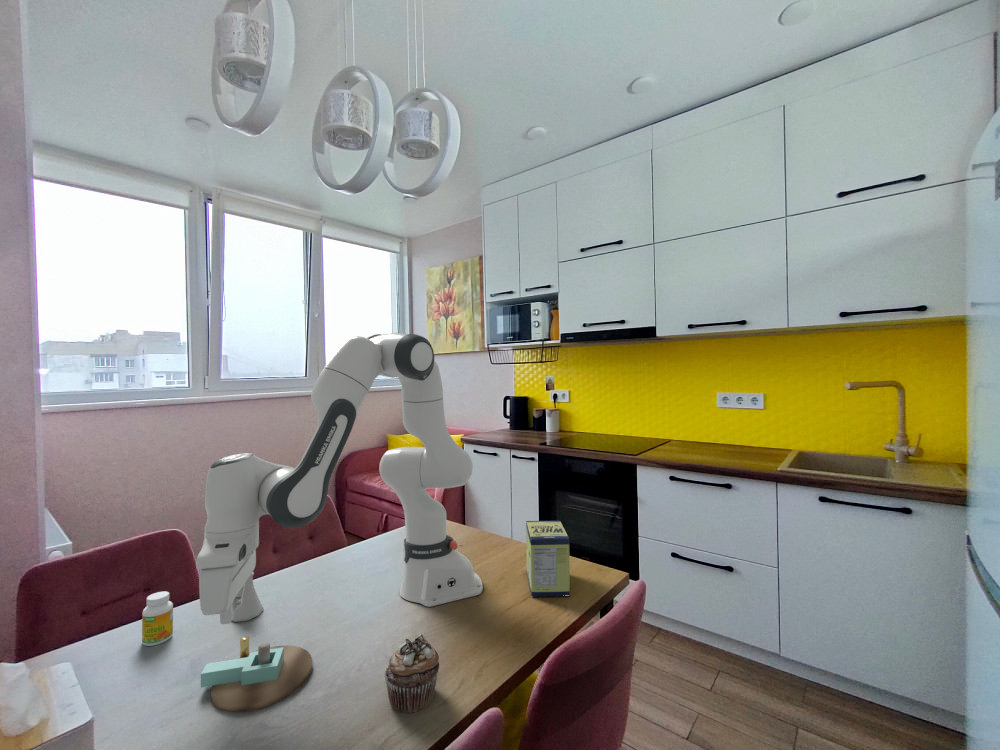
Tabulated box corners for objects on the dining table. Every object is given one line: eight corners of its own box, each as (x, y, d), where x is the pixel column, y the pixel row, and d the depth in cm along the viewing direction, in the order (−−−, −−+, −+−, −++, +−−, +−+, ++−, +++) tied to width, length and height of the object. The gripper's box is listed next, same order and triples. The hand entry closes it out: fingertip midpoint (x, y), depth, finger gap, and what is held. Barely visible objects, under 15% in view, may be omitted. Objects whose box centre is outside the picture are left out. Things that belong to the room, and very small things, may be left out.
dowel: (250, 655, 89) (250, 635, 89) (247, 660, 87) (248, 640, 87) (241, 656, 88) (241, 636, 89) (239, 661, 87) (239, 641, 87)
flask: (247, 624, 103) (247, 581, 103) (221, 621, 104) (221, 579, 104) (269, 608, 110) (269, 568, 110) (244, 606, 111) (244, 566, 111)
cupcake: (421, 671, 85) (421, 620, 86) (449, 698, 78) (449, 642, 78) (375, 695, 79) (375, 639, 79) (401, 726, 72) (401, 665, 72)
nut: (283, 659, 87) (283, 647, 87) (277, 679, 82) (277, 665, 82) (209, 671, 84) (209, 658, 84) (197, 693, 78) (197, 679, 78)
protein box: (560, 571, 130) (560, 519, 130) (570, 597, 115) (570, 538, 115) (525, 572, 130) (525, 520, 130) (531, 598, 114) (530, 538, 115)
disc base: (317, 645, 94) (317, 616, 94) (304, 700, 78) (305, 665, 78) (228, 659, 90) (228, 629, 90) (195, 721, 73) (195, 683, 73)
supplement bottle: (138, 649, 93) (139, 603, 93) (145, 636, 98) (145, 593, 98) (170, 642, 96) (170, 597, 96) (175, 630, 100) (175, 587, 101)
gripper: (231, 525, 92) (230, 591, 92) (191, 563, 72) (190, 648, 72) (264, 522, 94) (263, 587, 93) (234, 559, 74) (234, 641, 74)
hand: (231, 614), depth 82 cm, fingers open, 4 cm apart
